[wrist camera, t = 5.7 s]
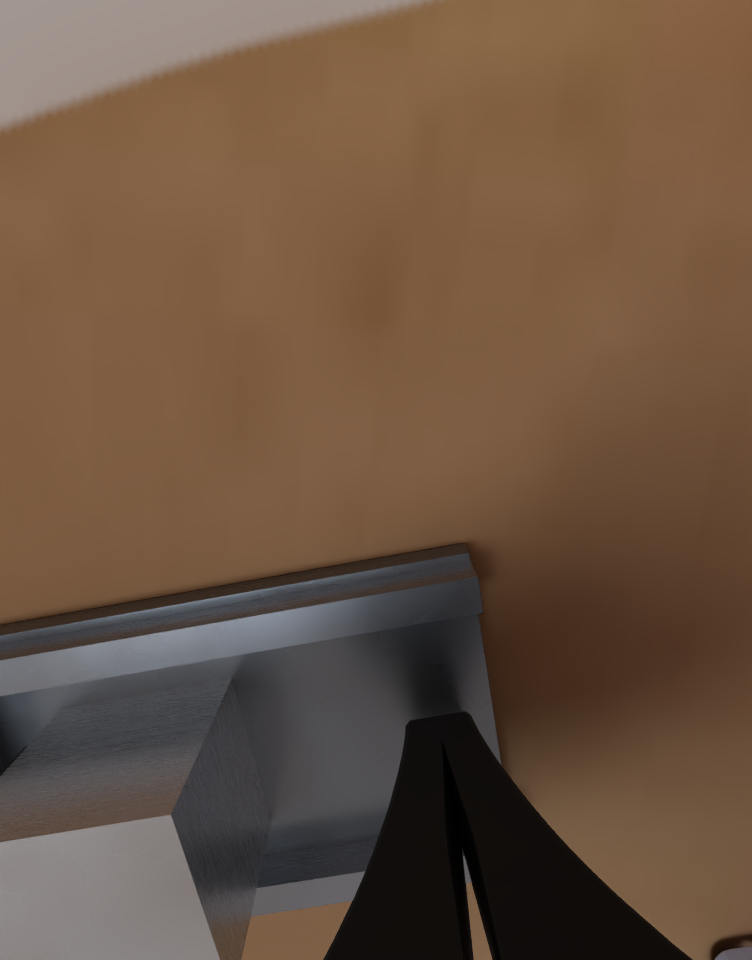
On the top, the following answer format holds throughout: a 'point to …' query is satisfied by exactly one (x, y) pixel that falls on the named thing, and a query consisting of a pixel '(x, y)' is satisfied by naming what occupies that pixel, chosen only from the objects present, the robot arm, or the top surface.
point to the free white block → (133, 831)
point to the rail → (283, 690)
